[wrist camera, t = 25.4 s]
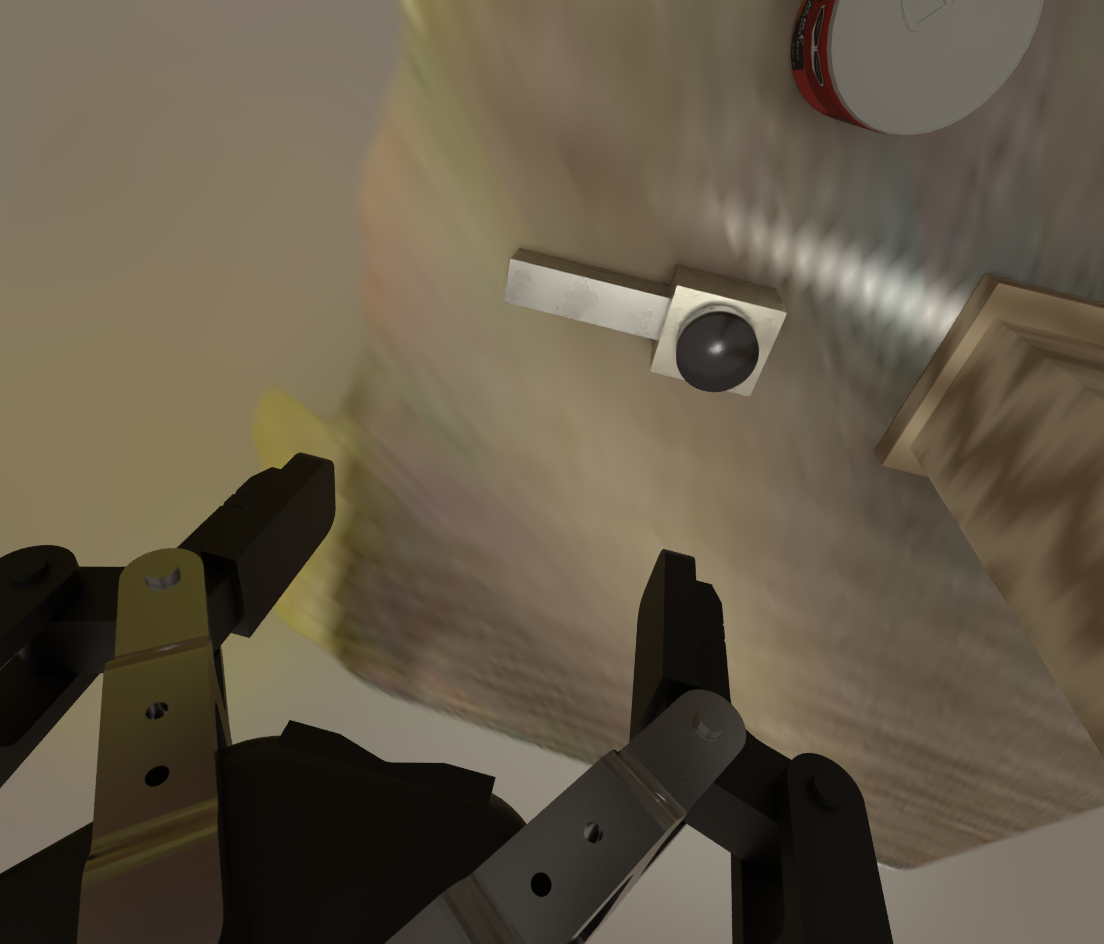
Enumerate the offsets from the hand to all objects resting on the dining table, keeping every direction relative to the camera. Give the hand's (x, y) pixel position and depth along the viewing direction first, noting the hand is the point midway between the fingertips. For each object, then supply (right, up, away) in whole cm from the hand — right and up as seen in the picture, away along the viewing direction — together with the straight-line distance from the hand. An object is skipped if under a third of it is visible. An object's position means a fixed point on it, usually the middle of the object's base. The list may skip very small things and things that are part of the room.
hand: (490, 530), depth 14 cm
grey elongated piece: (+8, +14, +28) cm, 33 cm away
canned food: (+19, +25, +19) cm, 37 cm away
